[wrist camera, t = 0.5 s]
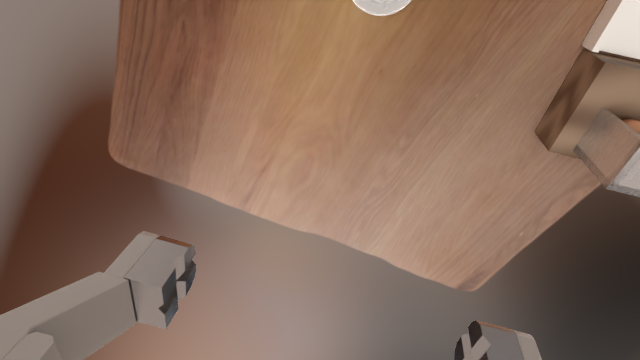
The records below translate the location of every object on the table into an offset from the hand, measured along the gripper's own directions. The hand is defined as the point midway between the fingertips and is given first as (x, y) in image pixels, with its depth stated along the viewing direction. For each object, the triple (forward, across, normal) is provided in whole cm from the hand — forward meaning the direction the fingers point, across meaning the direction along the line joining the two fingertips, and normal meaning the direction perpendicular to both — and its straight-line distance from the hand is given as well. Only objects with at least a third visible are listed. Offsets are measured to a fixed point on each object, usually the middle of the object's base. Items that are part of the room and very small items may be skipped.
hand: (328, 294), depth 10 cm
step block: (+46, -32, +4) cm, 56 cm away
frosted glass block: (+40, -32, +6) cm, 51 cm away
